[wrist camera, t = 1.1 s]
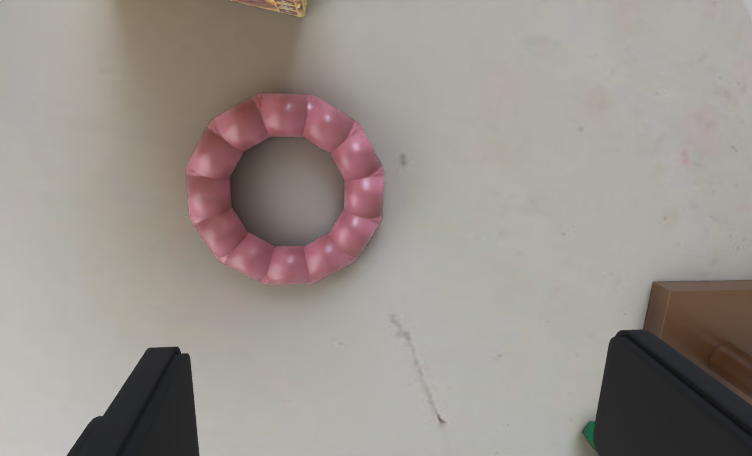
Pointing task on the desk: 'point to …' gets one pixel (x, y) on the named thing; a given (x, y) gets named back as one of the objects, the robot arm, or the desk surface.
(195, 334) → the desk surface
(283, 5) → the candy box
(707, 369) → the stand
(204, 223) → the pink segmented ring
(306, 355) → the desk surface
